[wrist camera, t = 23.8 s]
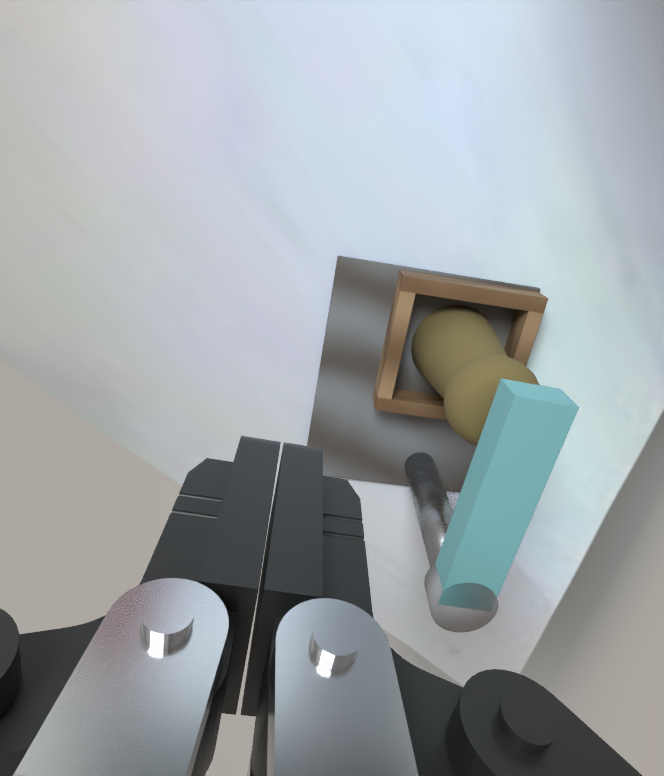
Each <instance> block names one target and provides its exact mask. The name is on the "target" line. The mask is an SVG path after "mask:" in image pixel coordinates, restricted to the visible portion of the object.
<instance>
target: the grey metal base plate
mask: <svg viewBox="0 0 664 776" xmlns="http://www.w3.org/2000/svg"><path fill="white" fill-rule="evenodd" d="M539 292H540V288H535V287H529V286H523V285H517V284H511V283H504V282H498V281H492V280H486V279H479V278H473V277H467V276H461V275H455V274H448V273H442V272H436V271H430V270H423V269H417V268H411V267H405V266H399V265H392V264H386V263H380V262H374V261H368V260H361V259H355V258H349V257H343V256H338V258H337V265H336V271H335V277H334V283H333V289H332V295H331V302H330V308H329V314H328V320H327V326H326V333H325V339H324V345H323V351H322V357H321V363H320V370H319V376H318V382H317V388H316V394H315V401H314V407H313V413H312V419H311V425H310V431H309V438H308V444H307V446H309V447H315V448H321V449H323V475H327V476H335V477H343V478H351V479H359V480H367V481H375V482H382V483H390V484H398V485H406V486H409V484H408V480H407V476H406V472H405V468H404V465H405V461H406V460H407V458H408V457H409V456H411V455H412V454H414V453H419V452H423V453H427V454H429V455H430V456H431V457H432V458H433V459H434V462H435V465H436V467H437V470H438V473H439V475H440V478H441V481H442V484H443V486H444V489H445V490H446V491H453V492H461V490H462V487H463V484H464V481H465V478H466V475H467V473H468V470H469V467H470V464H471V461H472V459H473V456H474V453H475V450H476V447H477V446H476V445H473V444H470V443H468V442H467V441H466V440H464V439H463V438H462V437H460V436H459V435H458V434H457V433H455V432H454V430H453V428H452V427H451V425H450V423H449V422H448V420H447V418H446V414H445V409H444V398H443V397H442V396H441V395H440V394H439V393H438V392H437V391H436V390H435V389H434V388H433V386H432V385H431V384H430V383H429V382H428V381H427V380H426V379H425V378H424V377H423V376H422V375H421V373H420V372H419V371H418V369H417V367H416V366H415V364H414V362H413V358H412V353H411V345H412V338H413V335H414V333H415V331H416V329H417V327H418V325H419V324H420V323H421V322H422V321H423V320H424V319H425V318H426V317H427V316H428V315H429V314H431V313H432V312H434V311H436V310H438V309H439V308H443V307H447V306H451V305H464V306H469V307H471V308H474V309H476V310H479V311H480V312H481V313H482V314H483V315H484V316H486V317H487V318H488V319H489V321H490V323H491V325H492V327H493V329H494V331H495V333H496V335H497V337H498V339H499V341H500V343H501V345H502V346H503V348H504V350H505V352H506V354H507V356H508V357H510V358H512V359H515V360H517V361H520V362H521V363H522V364H523V365H524V366H526V364H527V361H528V358H529V355H530V352H531V349H532V346H533V343H534V340H535V337H536V334H537V331H538V328H539V325H540V322H541V319H542V316H543V313H544V310H545V307H546V304H547V301H548V298H547V297H545V296H543V295H542V294H540V293H539Z"/></svg>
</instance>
